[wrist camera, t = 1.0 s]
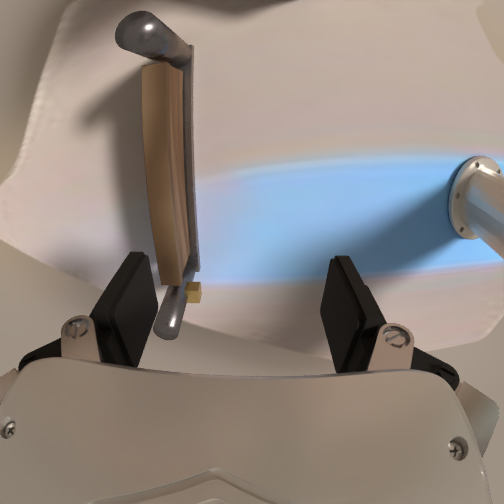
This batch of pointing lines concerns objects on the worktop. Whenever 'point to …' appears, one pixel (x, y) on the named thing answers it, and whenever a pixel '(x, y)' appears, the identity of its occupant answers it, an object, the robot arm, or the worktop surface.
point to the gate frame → (182, 57)
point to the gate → (165, 168)
